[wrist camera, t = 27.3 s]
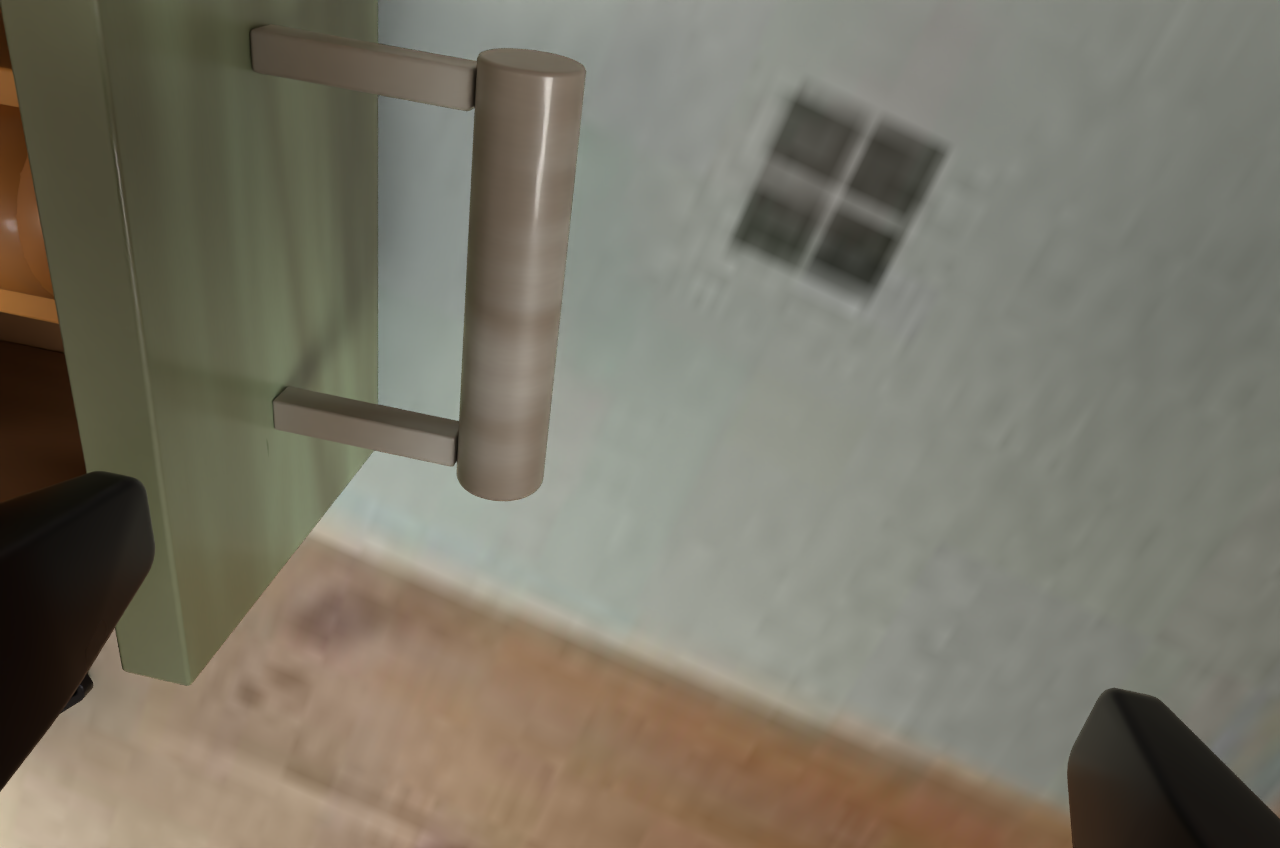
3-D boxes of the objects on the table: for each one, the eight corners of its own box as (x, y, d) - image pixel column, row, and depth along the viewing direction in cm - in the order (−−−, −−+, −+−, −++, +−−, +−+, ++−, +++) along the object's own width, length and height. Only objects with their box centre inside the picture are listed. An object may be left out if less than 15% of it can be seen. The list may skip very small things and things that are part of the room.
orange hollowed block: (273, 56, 17) (100, 113, 13) (283, 275, 19) (137, 383, 15) (-80, -8, 18) (-354, 26, 14) (-32, 212, 20) (-255, 300, 16)
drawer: (662, -168, 16) (541, -201, 9) (578, 488, 22) (472, 754, 15) (-364, -333, 17) (-1142, -469, 10) (-157, 333, 23) (-548, 517, 17)
